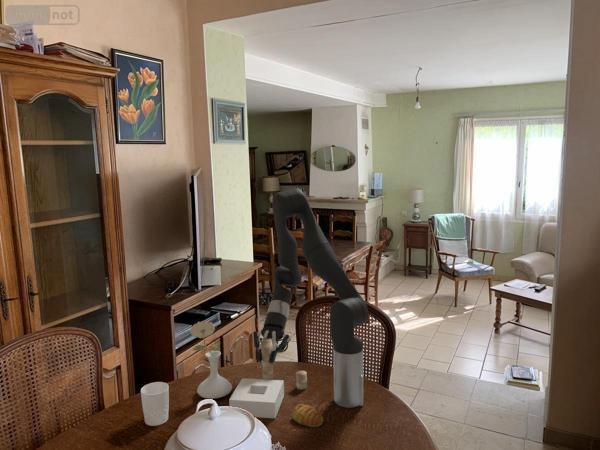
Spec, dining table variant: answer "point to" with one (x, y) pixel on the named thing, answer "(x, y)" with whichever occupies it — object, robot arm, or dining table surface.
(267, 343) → the tall birch pin
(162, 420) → the white cup
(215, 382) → the flower in vase
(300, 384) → the short birch pin
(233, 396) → the guide block
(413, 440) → the dining table surface
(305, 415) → the pastry
